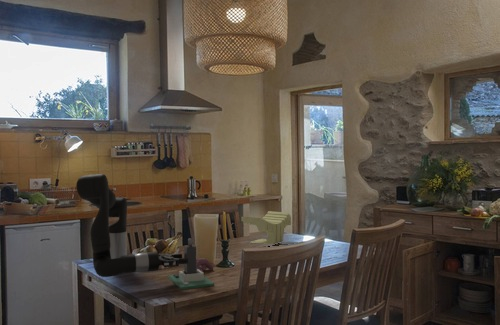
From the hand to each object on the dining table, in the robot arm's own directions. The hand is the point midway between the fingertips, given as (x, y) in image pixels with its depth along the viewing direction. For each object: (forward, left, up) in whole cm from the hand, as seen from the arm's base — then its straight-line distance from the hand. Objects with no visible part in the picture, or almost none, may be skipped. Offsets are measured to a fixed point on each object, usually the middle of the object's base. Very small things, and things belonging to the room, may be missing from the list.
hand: (184, 258), depth 199 cm
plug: (0, +2, -9) cm, 9 cm away
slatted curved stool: (-60, +67, -10) cm, 91 cm away
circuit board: (0, +2, -10) cm, 10 cm away
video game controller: (-14, +12, -10) cm, 21 cm away
